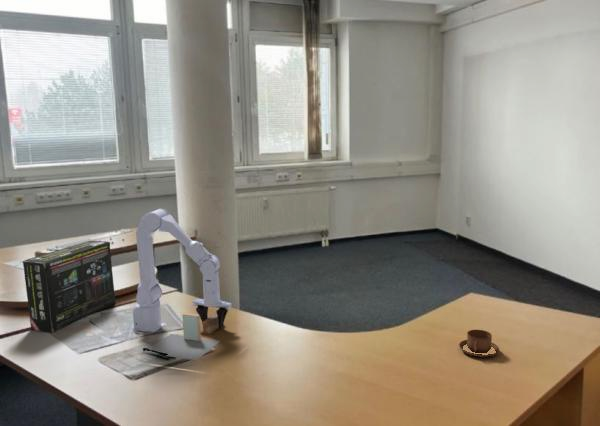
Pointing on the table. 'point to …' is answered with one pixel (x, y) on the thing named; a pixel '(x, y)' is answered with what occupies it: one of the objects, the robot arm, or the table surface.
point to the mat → (183, 347)
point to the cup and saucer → (479, 343)
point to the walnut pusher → (210, 324)
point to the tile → (191, 327)
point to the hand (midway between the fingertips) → (213, 326)
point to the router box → (68, 284)
